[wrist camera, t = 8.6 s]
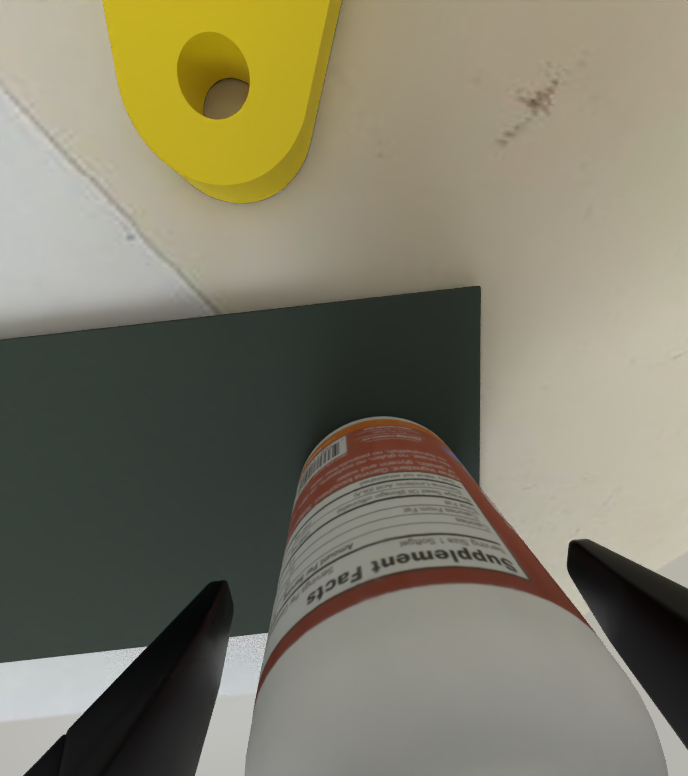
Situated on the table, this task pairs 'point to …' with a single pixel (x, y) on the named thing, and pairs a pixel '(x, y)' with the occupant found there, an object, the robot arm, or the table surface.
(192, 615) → the robot arm
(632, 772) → the pill bottle
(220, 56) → the crank
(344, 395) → the mat
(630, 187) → the table surface
